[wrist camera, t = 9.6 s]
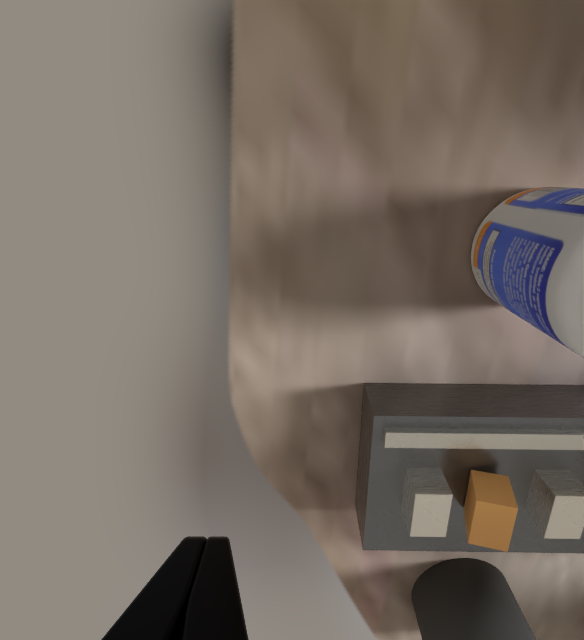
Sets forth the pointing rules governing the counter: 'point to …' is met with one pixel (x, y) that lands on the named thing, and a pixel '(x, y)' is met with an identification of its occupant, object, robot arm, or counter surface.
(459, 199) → the counter surface
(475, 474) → the breaker paddle
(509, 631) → the dark grey cylinder
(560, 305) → the pill bottle
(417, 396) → the breaker panel
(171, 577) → the robot arm
